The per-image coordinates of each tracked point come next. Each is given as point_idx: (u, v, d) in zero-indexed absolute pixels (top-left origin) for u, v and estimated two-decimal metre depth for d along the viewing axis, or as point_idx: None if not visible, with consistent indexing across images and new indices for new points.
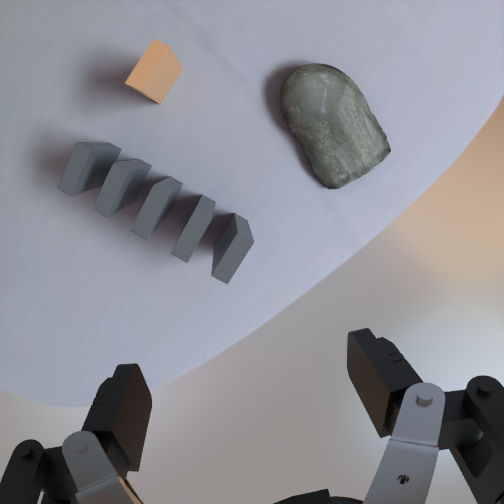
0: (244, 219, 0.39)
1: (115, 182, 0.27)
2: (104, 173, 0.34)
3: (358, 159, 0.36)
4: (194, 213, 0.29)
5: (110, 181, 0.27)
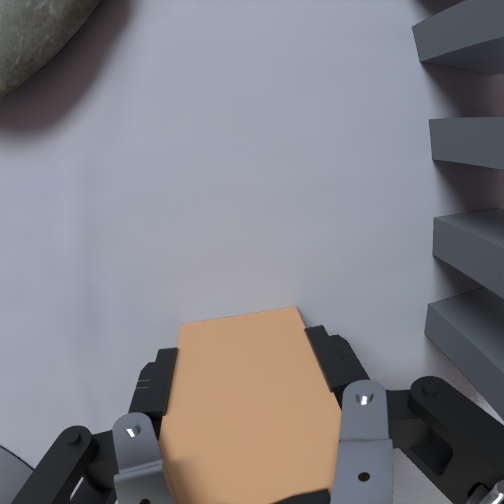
0: None
1: None
2: (492, 305, 0.13)
3: None
4: None
5: None
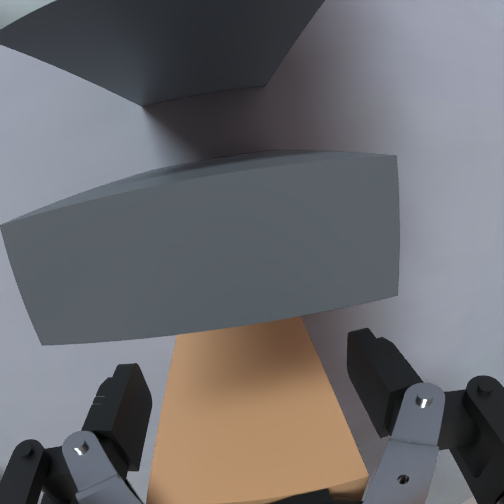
0: None
1: None
2: None
3: None
4: None
5: None
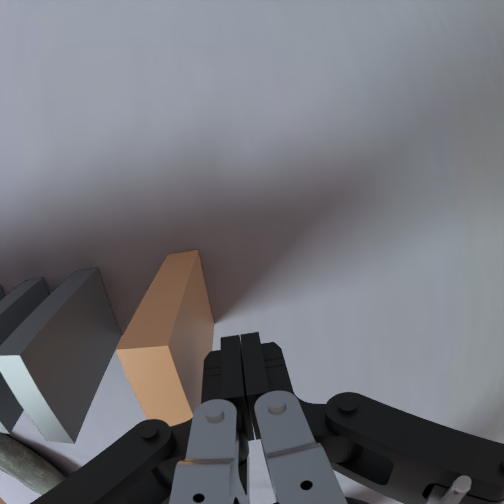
0: None
1: None
2: None
3: None
4: None
5: None
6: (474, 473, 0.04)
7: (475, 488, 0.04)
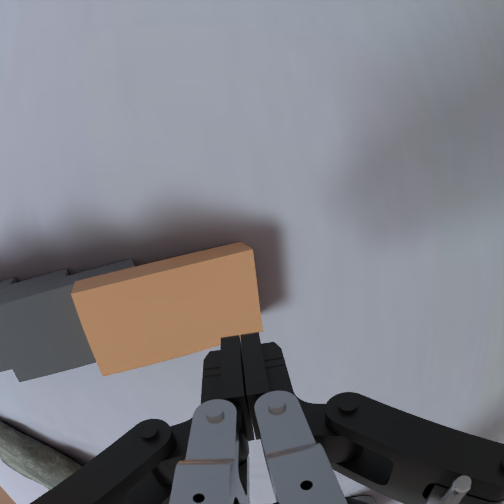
0: None
1: None
2: None
3: (7, 458, 0.21)
4: None
5: None
6: (474, 473, 0.04)
7: (475, 488, 0.04)
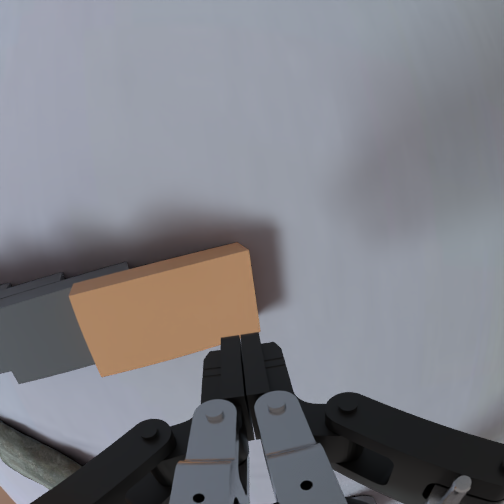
0: None
1: None
2: None
3: (8, 459, 0.21)
4: None
5: None
6: (474, 473, 0.04)
7: (475, 488, 0.04)
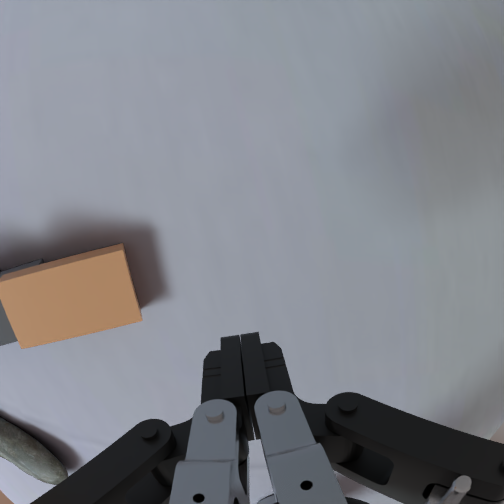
0: None
1: None
2: None
3: None
4: None
5: None
6: (474, 473, 0.04)
7: (475, 488, 0.04)
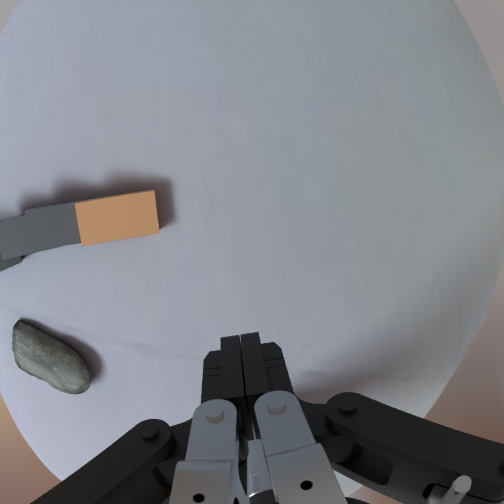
0: None
1: None
2: None
3: (20, 353, 0.39)
4: None
5: None
6: (474, 473, 0.04)
7: (475, 488, 0.04)
